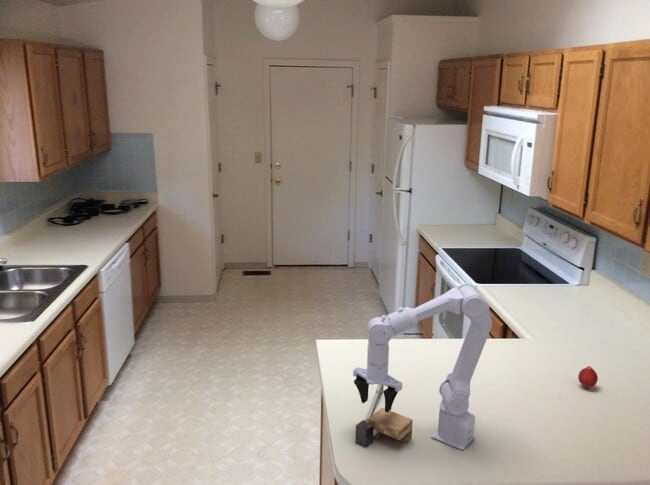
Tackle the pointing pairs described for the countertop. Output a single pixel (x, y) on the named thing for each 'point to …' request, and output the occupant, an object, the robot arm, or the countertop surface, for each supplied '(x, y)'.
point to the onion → (588, 377)
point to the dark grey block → (365, 433)
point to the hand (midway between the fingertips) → (376, 406)
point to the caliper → (375, 400)
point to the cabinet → (392, 424)
